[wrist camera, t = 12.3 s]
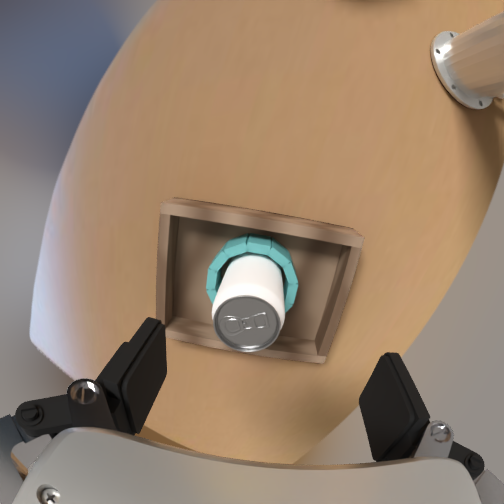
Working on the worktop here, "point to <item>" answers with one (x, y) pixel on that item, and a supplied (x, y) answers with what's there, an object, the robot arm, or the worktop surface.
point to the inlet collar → (260, 246)
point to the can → (249, 303)
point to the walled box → (211, 242)
